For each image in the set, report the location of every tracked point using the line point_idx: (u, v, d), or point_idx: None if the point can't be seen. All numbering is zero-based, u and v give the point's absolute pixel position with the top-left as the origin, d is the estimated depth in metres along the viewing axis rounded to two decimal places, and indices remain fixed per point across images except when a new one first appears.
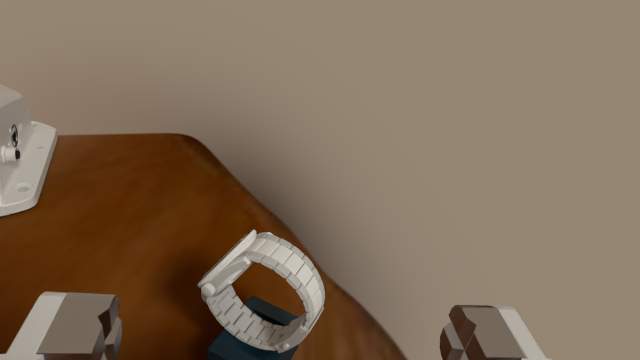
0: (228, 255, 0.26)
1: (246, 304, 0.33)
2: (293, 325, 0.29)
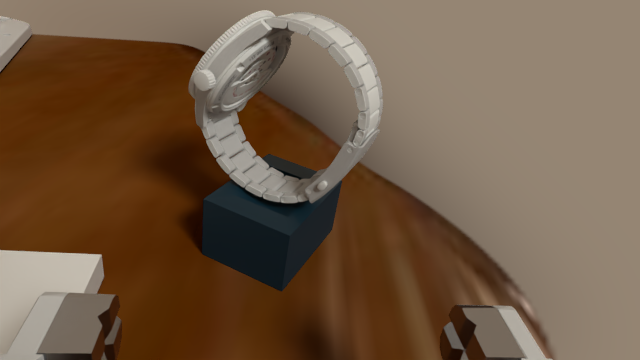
0: (236, 24, 0.17)
1: None
2: None
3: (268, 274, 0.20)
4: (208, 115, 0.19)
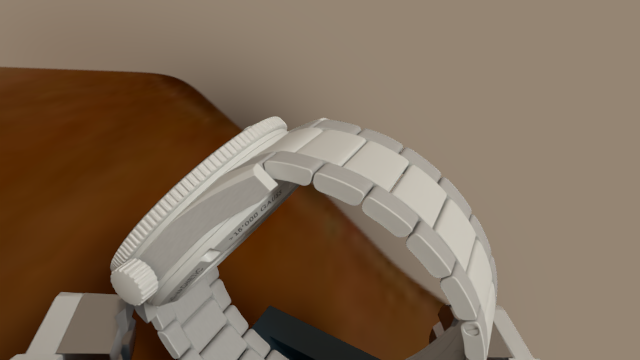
0: (201, 166, 0.08)
1: (256, 326, 0.14)
2: None
3: None
4: None
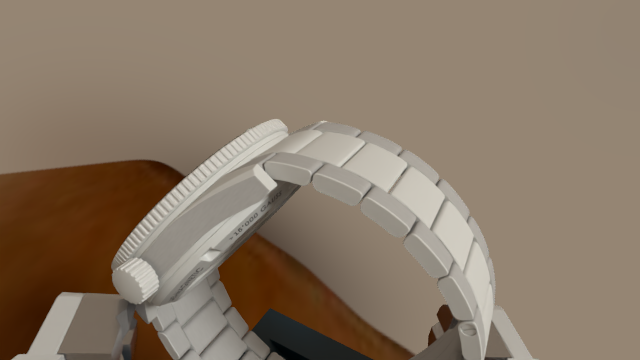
0: (202, 167, 0.08)
1: (256, 329, 0.14)
2: None
3: None
4: None
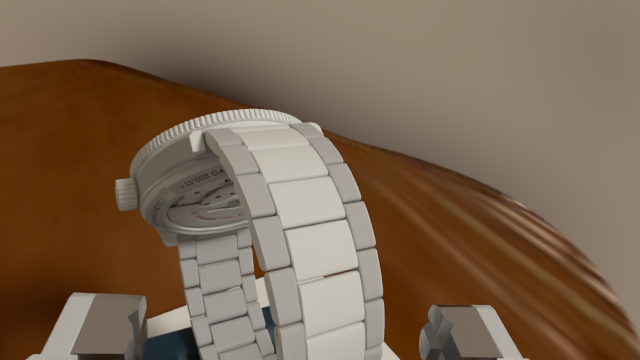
0: (183, 125, 0.10)
1: None
2: None
3: None
4: None
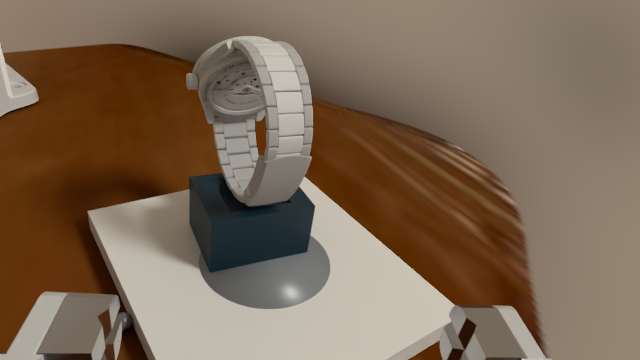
0: (221, 43, 0.21)
1: None
2: None
3: (206, 254, 0.23)
4: (213, 113, 0.24)
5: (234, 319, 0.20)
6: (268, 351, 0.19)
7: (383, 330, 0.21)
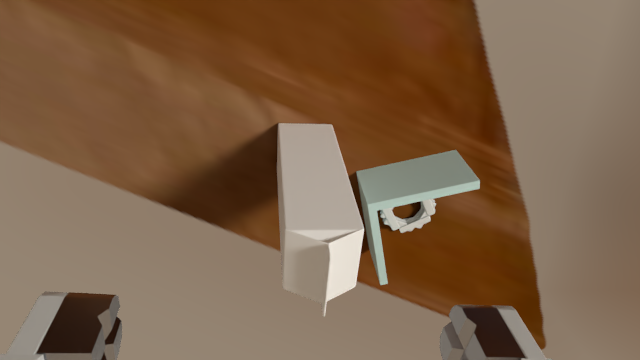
0: None
1: None
2: None
3: None
4: None
5: None
6: None
7: None
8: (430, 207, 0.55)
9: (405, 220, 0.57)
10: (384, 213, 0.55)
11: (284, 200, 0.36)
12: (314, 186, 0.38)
